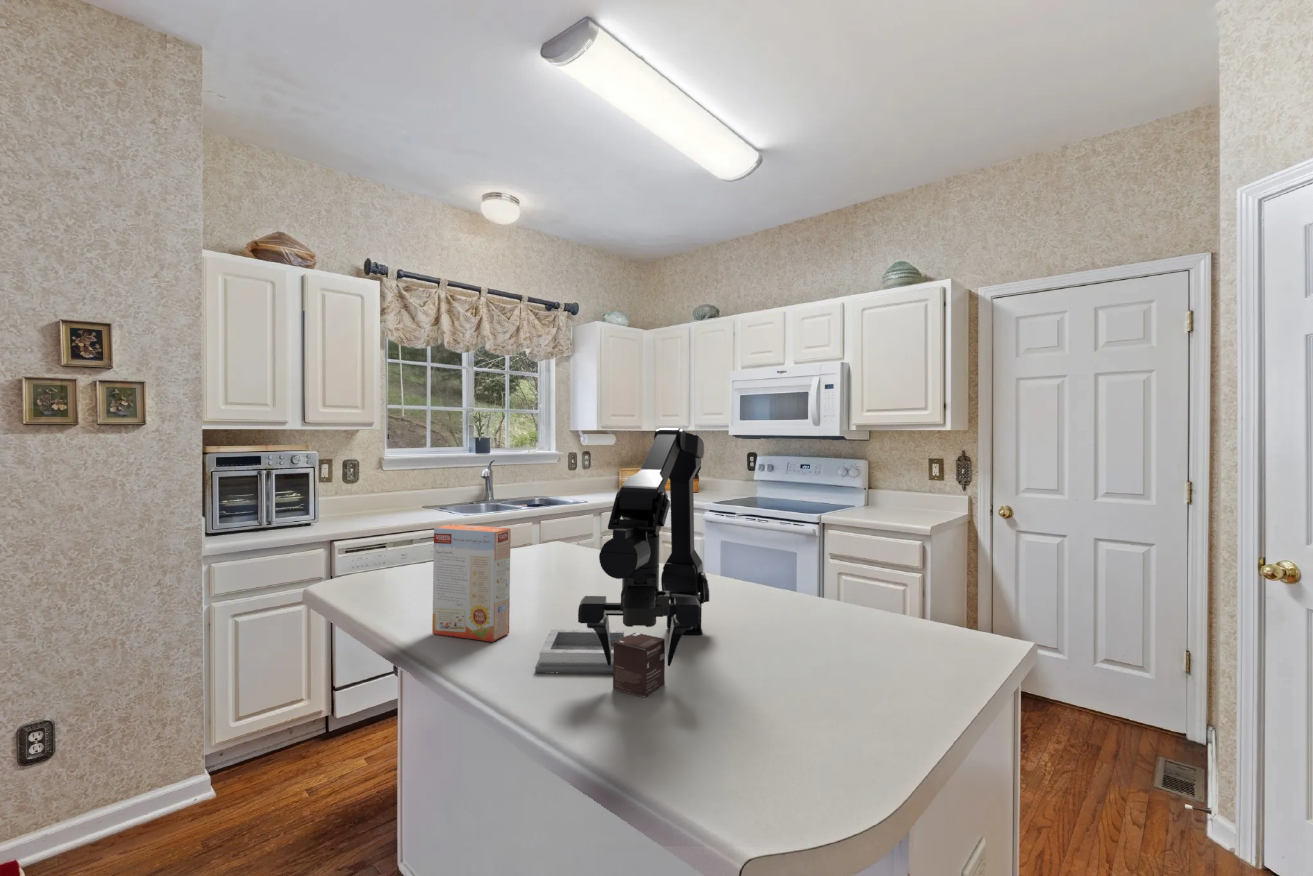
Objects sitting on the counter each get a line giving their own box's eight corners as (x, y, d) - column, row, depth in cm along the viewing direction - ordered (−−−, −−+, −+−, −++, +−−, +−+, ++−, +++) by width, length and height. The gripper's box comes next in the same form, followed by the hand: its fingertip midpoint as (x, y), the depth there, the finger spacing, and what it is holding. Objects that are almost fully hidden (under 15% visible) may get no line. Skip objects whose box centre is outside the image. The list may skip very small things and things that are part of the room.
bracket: (624, 644, 112) (624, 628, 112) (620, 673, 98) (621, 655, 98) (549, 643, 112) (549, 627, 112) (535, 673, 98) (535, 654, 98)
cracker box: (510, 633, 117) (512, 527, 117) (492, 643, 111) (494, 531, 112) (451, 625, 122) (452, 522, 122) (430, 634, 116) (432, 526, 116)
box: (644, 699, 89) (645, 649, 89) (611, 689, 92) (612, 641, 92) (665, 685, 94) (666, 638, 94) (633, 676, 97) (634, 631, 97)
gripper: (574, 575, 85) (572, 685, 85) (705, 577, 85) (703, 687, 85) (582, 560, 96) (581, 657, 96) (698, 561, 96) (697, 658, 96)
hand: (639, 665), depth 93 cm, fingers open, 9 cm apart
